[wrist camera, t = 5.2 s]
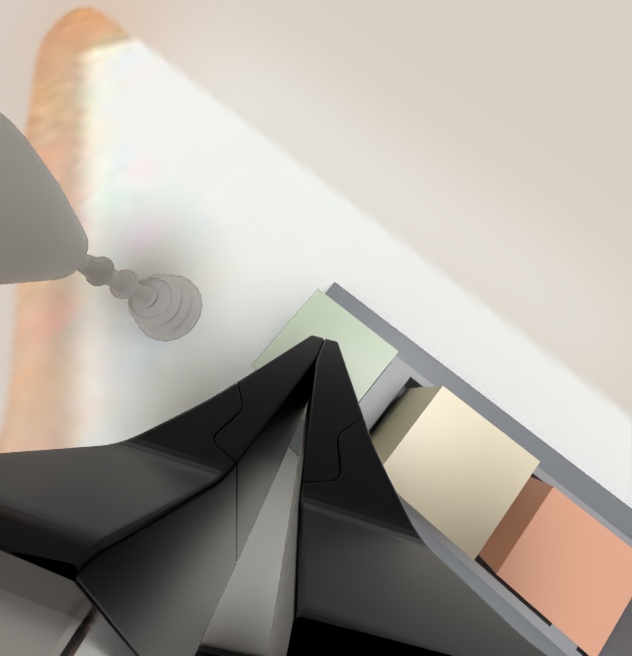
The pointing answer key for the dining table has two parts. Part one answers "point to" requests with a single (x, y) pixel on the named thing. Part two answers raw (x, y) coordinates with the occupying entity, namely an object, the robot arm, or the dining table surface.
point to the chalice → (74, 244)
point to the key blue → (620, 636)
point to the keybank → (553, 469)
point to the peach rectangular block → (562, 564)
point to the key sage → (338, 325)
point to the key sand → (451, 464)
